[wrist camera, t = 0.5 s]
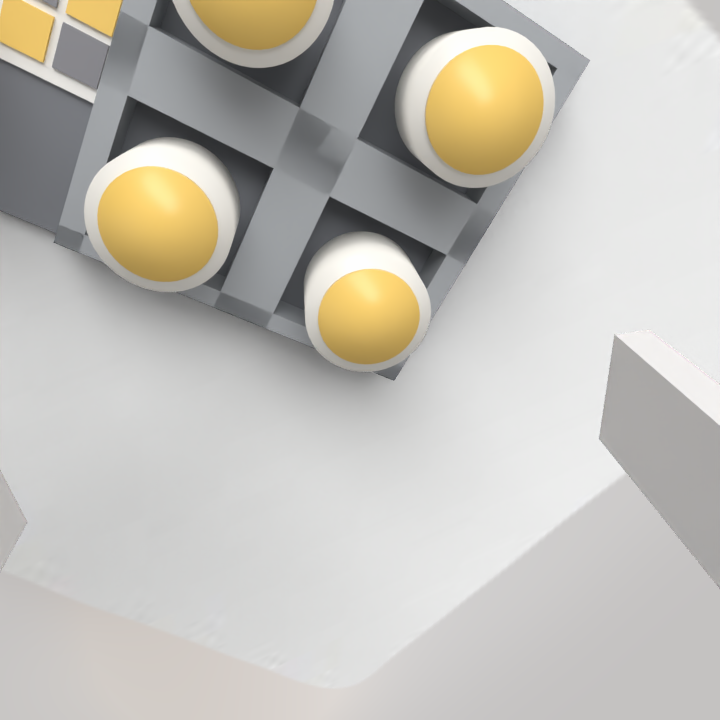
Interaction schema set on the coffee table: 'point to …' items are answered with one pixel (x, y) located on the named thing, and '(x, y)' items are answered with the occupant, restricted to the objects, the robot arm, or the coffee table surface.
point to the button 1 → (163, 214)
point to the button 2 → (255, 28)
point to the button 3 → (364, 302)
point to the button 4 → (475, 105)
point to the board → (249, 135)
